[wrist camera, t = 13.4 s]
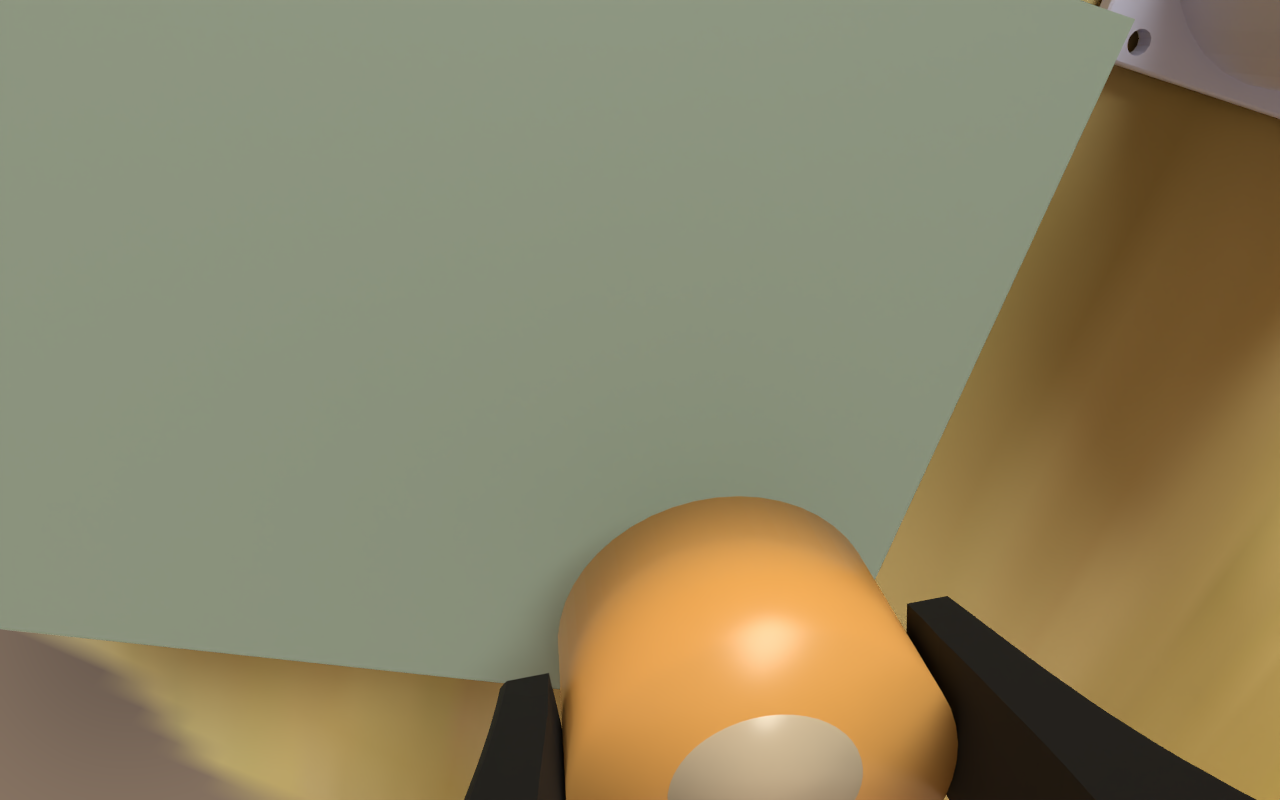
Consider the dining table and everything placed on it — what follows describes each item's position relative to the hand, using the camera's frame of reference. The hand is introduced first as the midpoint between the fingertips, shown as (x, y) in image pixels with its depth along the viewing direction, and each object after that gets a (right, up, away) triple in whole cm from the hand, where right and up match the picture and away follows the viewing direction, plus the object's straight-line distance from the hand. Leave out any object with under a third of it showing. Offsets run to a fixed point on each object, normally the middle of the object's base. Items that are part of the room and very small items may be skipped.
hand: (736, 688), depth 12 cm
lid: (-4, +6, +2) cm, 7 cm away
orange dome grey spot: (0, 0, +1) cm, 1 cm away
